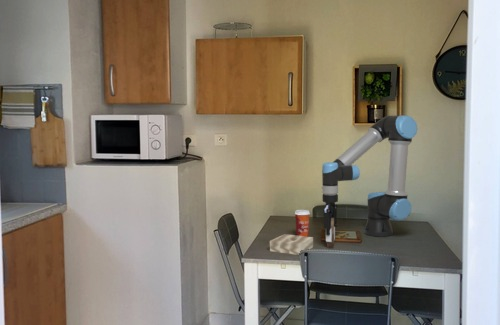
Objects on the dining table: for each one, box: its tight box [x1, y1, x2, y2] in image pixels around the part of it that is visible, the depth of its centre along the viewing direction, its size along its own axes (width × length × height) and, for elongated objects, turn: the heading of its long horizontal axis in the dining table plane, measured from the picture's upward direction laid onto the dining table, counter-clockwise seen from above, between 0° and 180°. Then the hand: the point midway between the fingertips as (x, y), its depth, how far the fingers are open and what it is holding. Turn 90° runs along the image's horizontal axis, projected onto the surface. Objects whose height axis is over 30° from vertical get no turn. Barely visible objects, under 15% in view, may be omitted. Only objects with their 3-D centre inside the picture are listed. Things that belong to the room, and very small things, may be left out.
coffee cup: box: [294, 209, 311, 237], centre depth 266 cm, size 8×8×15 cm
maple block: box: [269, 233, 314, 256], centre depth 245 cm, size 16×16×5 cm
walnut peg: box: [326, 217, 335, 249], centre depth 246 cm, size 4×4×15 cm
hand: (330, 240), depth 247 cm, fingers open, 4 cm apart
